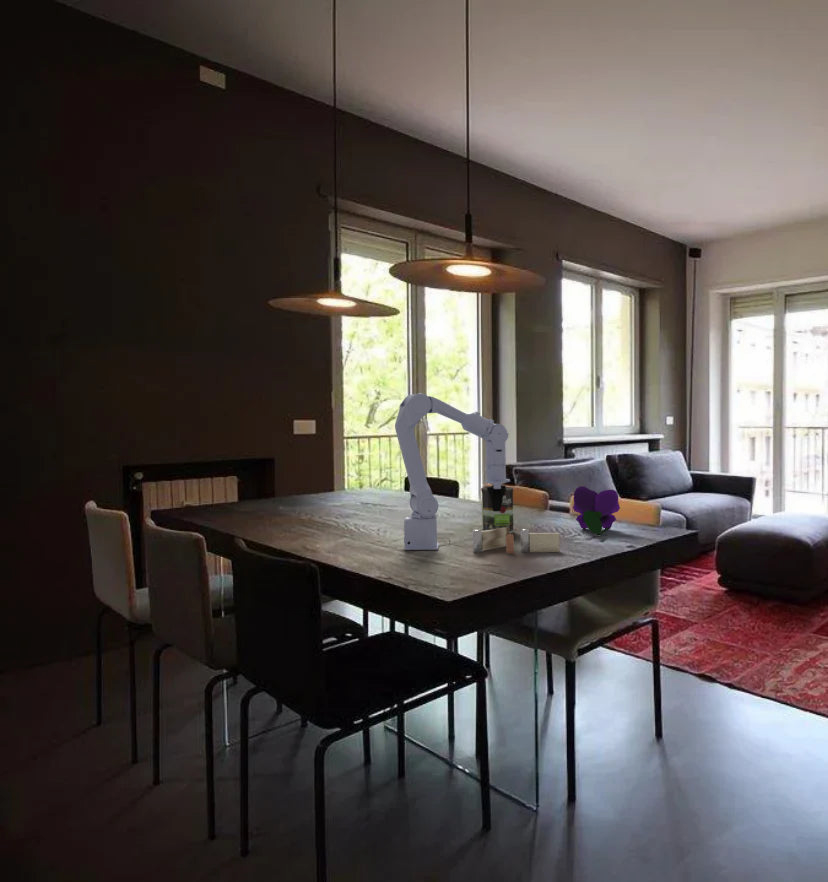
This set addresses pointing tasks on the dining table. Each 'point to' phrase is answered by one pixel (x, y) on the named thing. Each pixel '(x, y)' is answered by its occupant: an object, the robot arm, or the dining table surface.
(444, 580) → the dining table surface
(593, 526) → the flower
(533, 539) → the gate frame
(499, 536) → the gate leaf
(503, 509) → the coffee can
